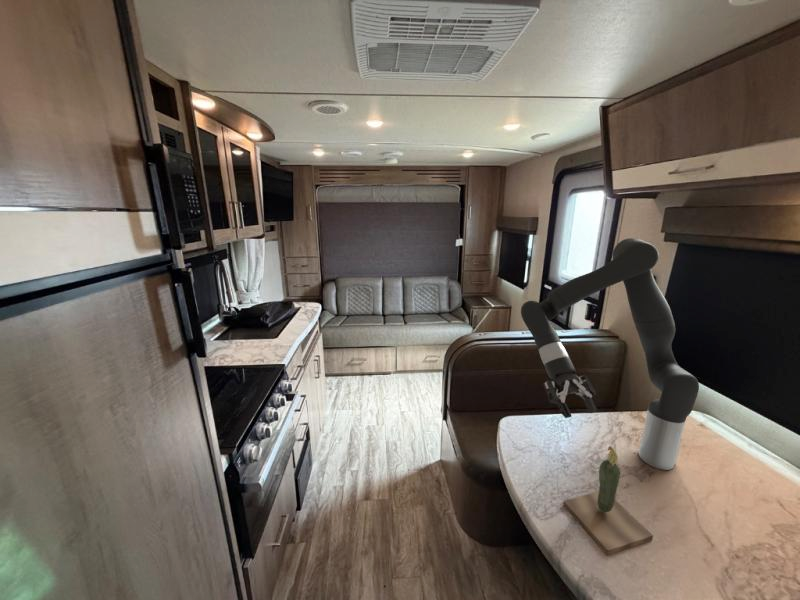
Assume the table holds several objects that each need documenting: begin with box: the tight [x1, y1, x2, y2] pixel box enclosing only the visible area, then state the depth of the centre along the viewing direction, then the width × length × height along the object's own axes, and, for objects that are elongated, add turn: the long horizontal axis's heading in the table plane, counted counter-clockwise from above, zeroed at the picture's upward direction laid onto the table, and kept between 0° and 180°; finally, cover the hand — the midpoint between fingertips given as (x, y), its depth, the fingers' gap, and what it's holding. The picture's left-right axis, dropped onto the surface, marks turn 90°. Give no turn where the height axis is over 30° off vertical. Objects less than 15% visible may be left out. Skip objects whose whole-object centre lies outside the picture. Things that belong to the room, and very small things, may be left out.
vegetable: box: [597, 445, 621, 512], centre depth 81 cm, size 4×4×20 cm
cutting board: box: [562, 490, 654, 556], centre depth 82 cm, size 14×14×2 cm
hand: (581, 414), depth 87 cm, fingers open, 8 cm apart
